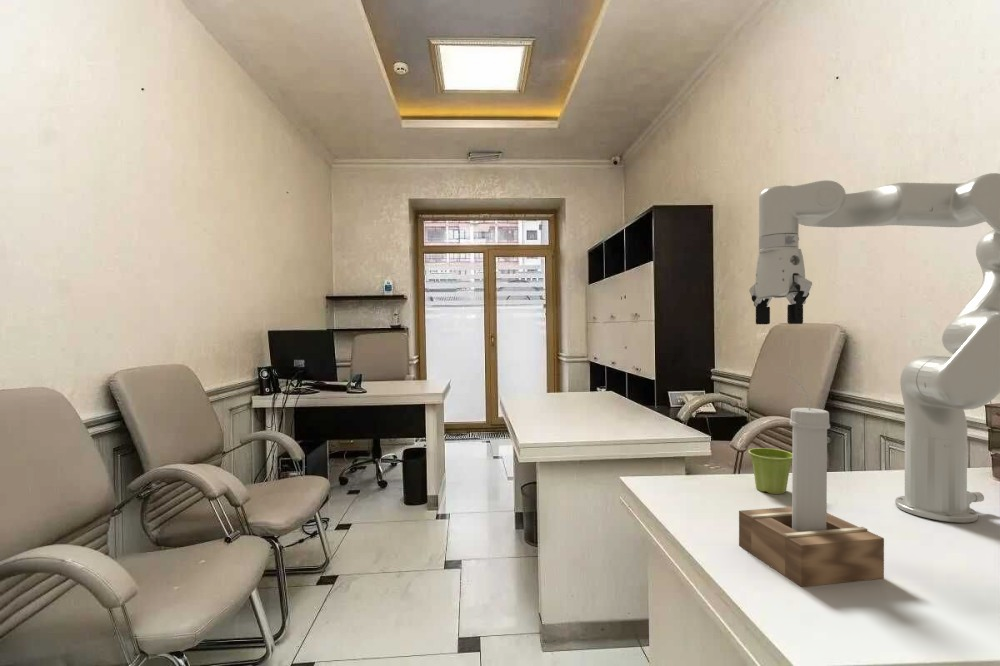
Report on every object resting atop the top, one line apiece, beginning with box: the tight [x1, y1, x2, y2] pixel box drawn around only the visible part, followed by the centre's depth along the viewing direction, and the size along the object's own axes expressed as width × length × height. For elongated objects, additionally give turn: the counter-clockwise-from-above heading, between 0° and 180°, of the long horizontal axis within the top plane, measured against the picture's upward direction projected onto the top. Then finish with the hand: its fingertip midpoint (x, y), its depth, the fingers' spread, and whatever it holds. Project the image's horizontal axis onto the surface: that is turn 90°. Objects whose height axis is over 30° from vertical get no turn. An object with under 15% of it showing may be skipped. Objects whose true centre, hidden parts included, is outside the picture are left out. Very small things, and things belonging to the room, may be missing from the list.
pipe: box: [785, 373, 831, 532], centre depth 80 cm, size 6×6×30 cm
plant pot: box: [747, 447, 792, 495], centre depth 115 cm, size 9×9×9 cm
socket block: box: [738, 506, 885, 588], centre depth 80 cm, size 14×14×6 cm
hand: (778, 324), depth 108 cm, fingers open, 9 cm apart
